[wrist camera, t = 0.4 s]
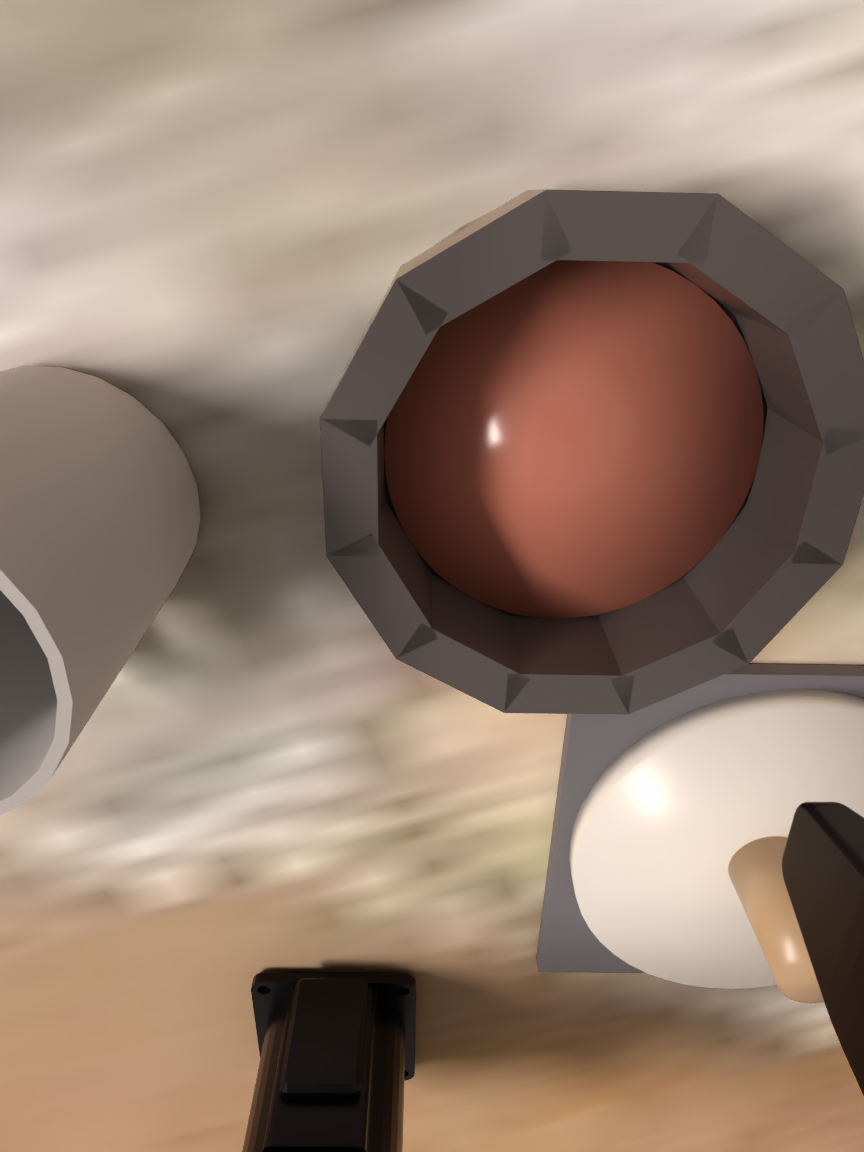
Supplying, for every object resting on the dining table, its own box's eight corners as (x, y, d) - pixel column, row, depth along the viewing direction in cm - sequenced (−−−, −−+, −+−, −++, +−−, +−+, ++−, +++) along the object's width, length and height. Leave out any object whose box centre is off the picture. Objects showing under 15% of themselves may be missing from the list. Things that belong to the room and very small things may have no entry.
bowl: (739, 635, 23) (797, 716, 19) (348, 629, 23) (333, 710, 19) (845, 198, 18) (951, 199, 14) (333, 185, 17) (309, 183, 14)
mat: (886, 961, 30) (895, 975, 29) (536, 957, 30) (538, 971, 29) (1017, 667, 24) (1031, 678, 23) (574, 660, 23) (577, 671, 23)
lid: (886, 966, 29) (968, 1105, 25) (552, 962, 29) (574, 1102, 25) (1009, 691, 23) (1146, 808, 19) (591, 684, 23) (630, 801, 19)
